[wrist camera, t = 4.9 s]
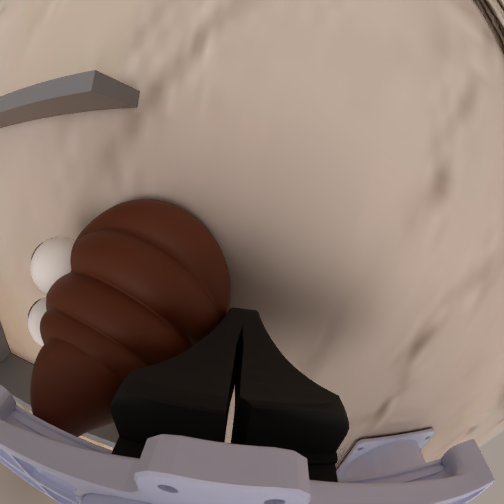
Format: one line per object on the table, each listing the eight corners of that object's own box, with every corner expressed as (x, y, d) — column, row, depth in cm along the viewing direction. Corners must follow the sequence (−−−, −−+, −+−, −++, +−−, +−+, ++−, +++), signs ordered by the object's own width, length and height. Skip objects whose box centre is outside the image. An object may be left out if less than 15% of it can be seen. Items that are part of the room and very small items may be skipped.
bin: (146, 411, 17) (129, 452, 13) (8, 357, 17) (-15, 381, 13) (139, 91, 11) (95, 70, 7) (-23, 124, 11) (-61, 126, 7)
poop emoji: (188, 384, 16) (148, 518, 7) (70, 319, 15) (-19, 414, 6) (266, 244, 13) (272, 411, 4) (108, 166, 12) (-62, 196, 3)
